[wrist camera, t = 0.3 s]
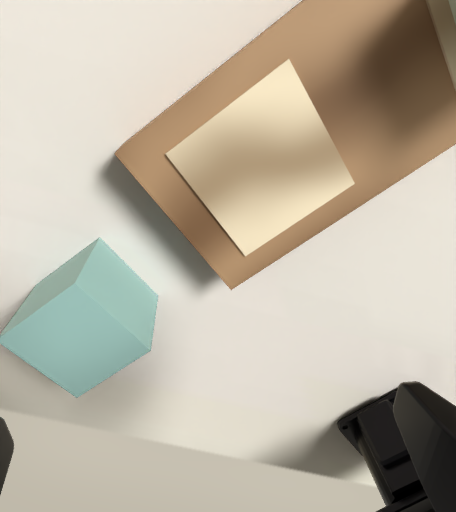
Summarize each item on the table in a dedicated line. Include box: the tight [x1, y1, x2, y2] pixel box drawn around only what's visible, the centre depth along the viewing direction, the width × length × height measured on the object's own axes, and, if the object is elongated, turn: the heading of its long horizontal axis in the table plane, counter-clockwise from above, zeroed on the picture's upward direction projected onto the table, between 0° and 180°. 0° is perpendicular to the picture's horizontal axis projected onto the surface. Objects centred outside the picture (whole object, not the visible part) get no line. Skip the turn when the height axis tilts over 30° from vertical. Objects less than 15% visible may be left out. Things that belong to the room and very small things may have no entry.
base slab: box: [114, 0, 456, 290], centre depth 16 cm, size 9×22×3 cm, turn 125°
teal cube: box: [0, 237, 158, 398], centre depth 19 cm, size 5×5×5 cm
